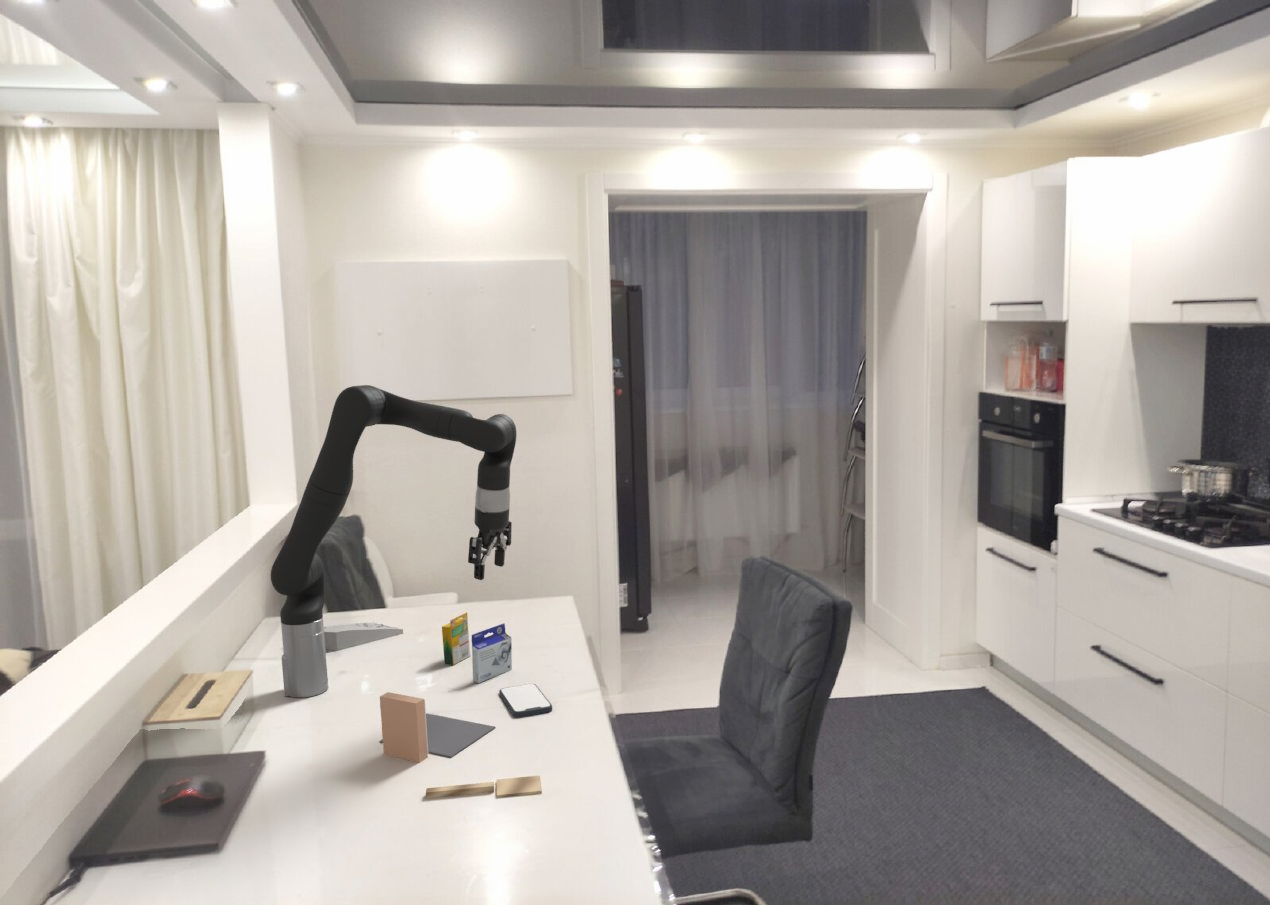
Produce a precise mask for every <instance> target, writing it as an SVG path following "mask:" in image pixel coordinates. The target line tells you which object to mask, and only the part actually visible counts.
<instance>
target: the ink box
mask: <svg viewBox="0 0 1270 905" xmlns="http://www.w3.org/2000/svg"><path fill="white" fill-rule="evenodd" d="M488 634H491V635H488ZM486 635H488V636H486ZM485 636H486V637H485ZM512 649H513V648H512V637H511V636H510V635H509V634H508V633H507V632H506V624H505V622H503V623H501V624H498V625H495V626H492V627H490V628H486V629H484V630H482V631H481V630H480V631H478V632H476V633H473V634H471V658H472V660H471V661H472V682H473V683H476V684H480V683H482V682H485V681H487V680H490V679H492V678H494V677H497V676H499V675H502V674H505V673H507V672H509V671H511V670H512V668H513V666H512V665H513V664H512V662H513V660H512V659H513V658H512V657H513V656H512V655H513V654H512V653H513V652H512Z"/></svg>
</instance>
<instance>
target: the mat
mask: <svg viewBox="0 0 1270 905" xmlns="http://www.w3.org/2000/svg"><path fill="white" fill-rule="evenodd" d="M426 724H427V740H428V754H432V755H436V756H441V757H446V758H453V757H455V756H456V755H457V754H459V753H461V752H462V751H464V750H465V749H467V748H469V746H471V745H473V744H475V743H476V742H477V741H479V740H480V739H482V738H483V737H484V736H486V735H487V734H489V733H490V732H492V731H494V730H495V729H496V726H493V725H489V724H488V725H487V724H484V723H480V722H479V723H477V722H474V721H473V722H472V721H468V720H463V719H457V718H452V717H447V716H443V715H437V714H433V713H428V712H426ZM379 743H380V744H383V738H382V739H380V740H379Z"/></svg>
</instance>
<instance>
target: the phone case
mask: <svg viewBox="0 0 1270 905" xmlns="http://www.w3.org/2000/svg"><path fill="white" fill-rule="evenodd" d="M498 694H499V696H500V698H501V697H502V698H501V699H502V701H503V702H504V704H505V705H506V707H507V709H508V710H509V712H510V713H511V715H512V716H513V718H524V717H530V716H536V715H541V714H548V713H551V712H552V711H553V705H552V703H551V702H550V701H549V699H547V697H546V696H545V694H544V693H543V692H542V691H541V690H540V688H539V687H538V686H537V684H536V683H528V684H521V685H514V686H508V687H503V688H500V689H499V691H498Z"/></svg>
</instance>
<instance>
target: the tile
mask: <svg viewBox="0 0 1270 905" xmlns="http://www.w3.org/2000/svg"><path fill="white" fill-rule="evenodd" d="M379 705H380V706H379V707H380V718H381V719H380V720H381V721H380V723H381V736H382V739H383V743H382V749H383V750H382V751H383V755H385V756H389V757H394V758H399V759H402V760H407V761H411V762H416V763H422V762H423V761H424V760H426V759H428V758H429V756H428V755H429V753H428V740H427V724H426V713H427V712H426V711H427V709H426V699H425V698H421V697H416V696H410V695H406V694H399V693H394V692H386V693H383V694H382V695H379Z"/></svg>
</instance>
